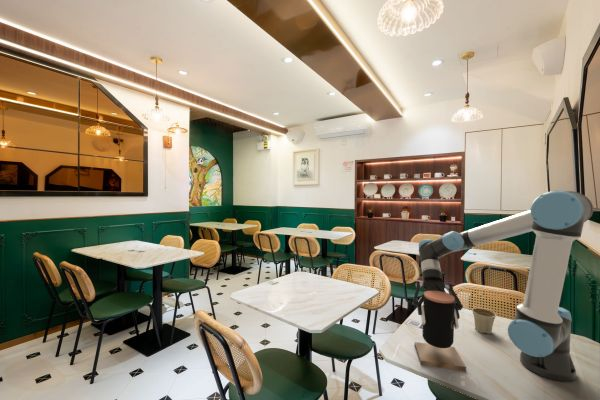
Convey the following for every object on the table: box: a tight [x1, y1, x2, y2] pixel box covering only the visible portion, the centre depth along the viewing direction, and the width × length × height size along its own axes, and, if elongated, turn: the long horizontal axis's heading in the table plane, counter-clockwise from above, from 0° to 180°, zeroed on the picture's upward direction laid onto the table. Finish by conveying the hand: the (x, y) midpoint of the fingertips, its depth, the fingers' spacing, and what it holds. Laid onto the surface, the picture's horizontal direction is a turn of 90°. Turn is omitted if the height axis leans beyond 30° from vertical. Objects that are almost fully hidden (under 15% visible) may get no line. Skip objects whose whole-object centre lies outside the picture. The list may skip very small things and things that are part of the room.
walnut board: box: [414, 341, 467, 372], centre depth 105 cm, size 15×13×2 cm
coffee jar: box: [422, 290, 455, 348], centre depth 105 cm, size 11×11×18 cm
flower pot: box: [471, 307, 497, 335], centre depth 126 cm, size 9×9×9 cm
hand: (440, 325), depth 102 cm, fingers closed on coffee jar, 11 cm apart
